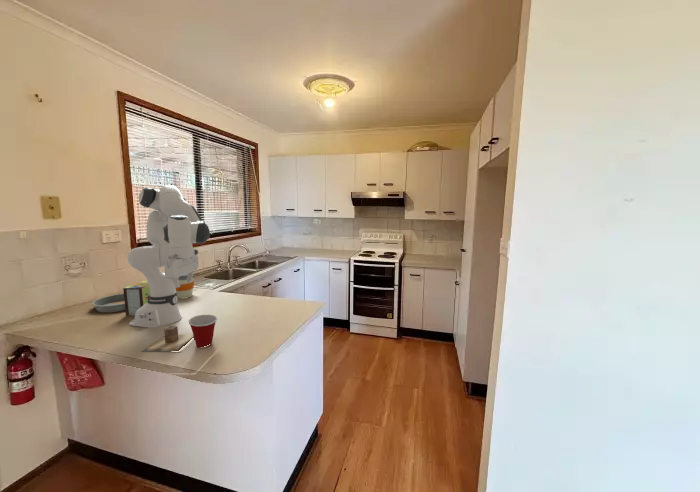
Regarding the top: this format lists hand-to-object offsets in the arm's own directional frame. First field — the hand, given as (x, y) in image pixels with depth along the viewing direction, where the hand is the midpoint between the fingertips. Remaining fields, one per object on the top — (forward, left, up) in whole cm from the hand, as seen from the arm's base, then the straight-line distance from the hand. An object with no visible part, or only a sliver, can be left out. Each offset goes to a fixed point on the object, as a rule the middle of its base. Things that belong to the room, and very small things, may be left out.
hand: (183, 284), depth 125 cm
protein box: (-42, +32, -25) cm, 59 cm away
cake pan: (-62, +40, -25) cm, 78 cm away
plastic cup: (+11, -7, -25) cm, 28 cm away
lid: (-3, -6, -24) cm, 25 cm away
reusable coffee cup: (-36, +59, -25) cm, 73 cm away
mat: (-3, -6, -25) cm, 26 cm away
